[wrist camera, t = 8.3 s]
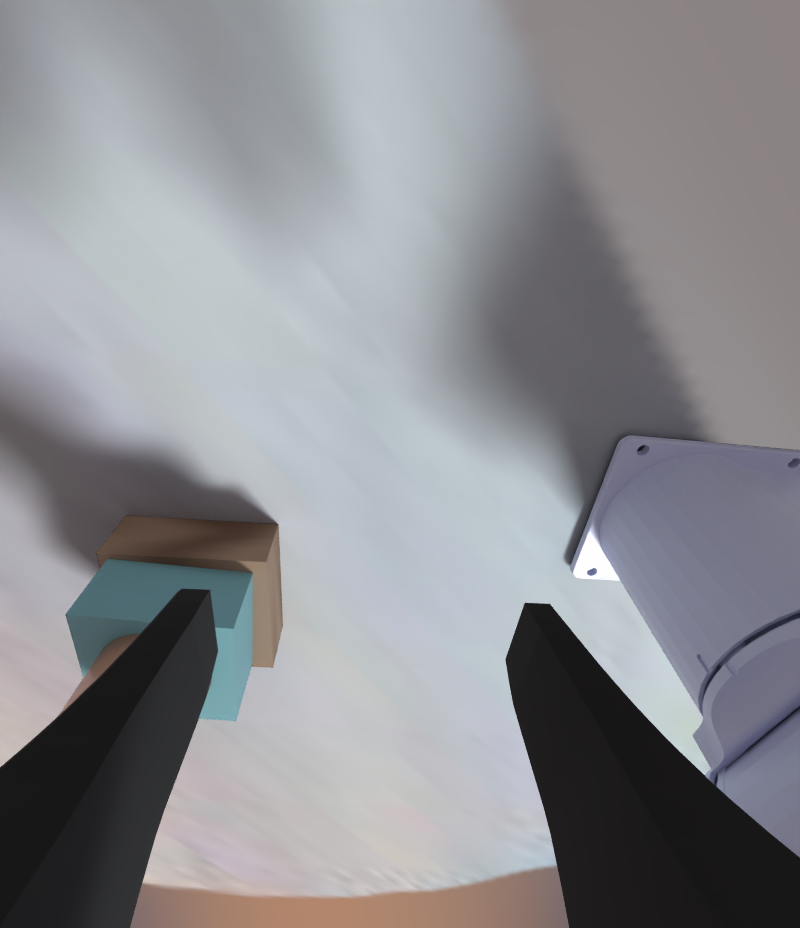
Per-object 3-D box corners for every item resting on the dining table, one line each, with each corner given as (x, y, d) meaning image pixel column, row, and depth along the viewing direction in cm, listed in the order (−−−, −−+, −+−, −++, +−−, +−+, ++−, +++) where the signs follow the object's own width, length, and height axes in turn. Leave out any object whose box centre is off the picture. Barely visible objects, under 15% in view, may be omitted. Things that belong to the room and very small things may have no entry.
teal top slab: (252, 573, 20) (233, 628, 18) (252, 662, 23) (236, 721, 21) (107, 558, 20) (65, 614, 17) (126, 651, 23) (93, 711, 20)
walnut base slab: (280, 519, 23) (266, 562, 20) (284, 620, 26) (272, 667, 24) (130, 510, 22) (96, 553, 20) (154, 614, 26) (128, 661, 23)
